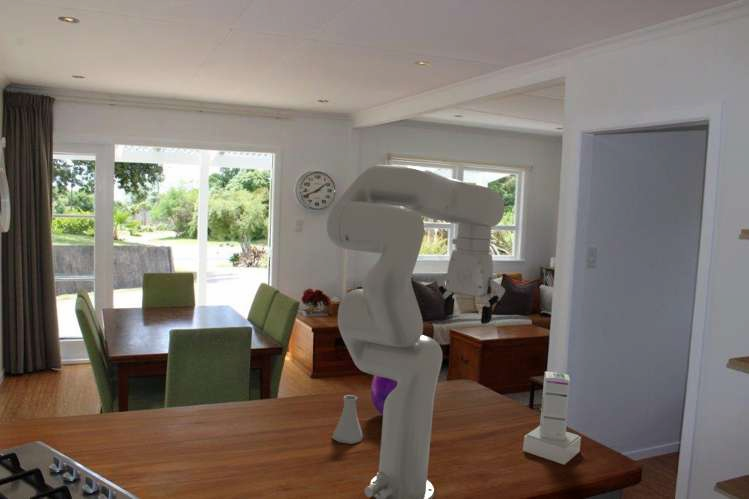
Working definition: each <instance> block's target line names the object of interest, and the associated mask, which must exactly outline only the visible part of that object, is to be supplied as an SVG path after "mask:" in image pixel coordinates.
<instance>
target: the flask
mask: <svg viewBox="0 0 749 499" xmlns="http://www.w3.org/2000/svg"><path fill="white" fill-rule="evenodd" d="M357 400H358V396H356V395H354V394H353V395H352V394H347V395H344V396H343V401H344V404H343V409H342V413H341V416H340V418H339V420H338V423H337V425H336V427H335V429H334V432H333V433H332V436H331V439H332V440H335V441H336V442H338V443H342V444H349V445H353V444H356V443H360V442H361V441H362V440H363V438H364V434H363V431H362V427H361V424H360V422H359V418H358V413H357Z"/></svg>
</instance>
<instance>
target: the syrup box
mask: <svg viewBox="0 0 749 499" xmlns="http://www.w3.org/2000/svg"><path fill="white" fill-rule="evenodd" d="M542 385H543V388H542V398H541V408H540V409H541V411H540V422H539V423H540V424H539V426H540V436H541V437H543V438H548V439H554V440H562V441H565V436H566V432H567V426H568V413H569V399H570V389H571V388H570V387H571V379H570V375H569V374H568V373H563V372H558V371H544V378H543V384H542Z"/></svg>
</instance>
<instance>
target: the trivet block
mask: <svg viewBox="0 0 749 499" xmlns="http://www.w3.org/2000/svg"><path fill="white" fill-rule="evenodd" d="M581 440H582V436H580V435H578V434H575V433H572V432H570V431H569V432H568V431H566V436H565V441H562V440H554V439H548V438H543V437H541V436H540V425H538V426H537V427H536V428H535V429H533V430H531V431H530V432H528V433H527V434H525V435H524V438H523V444H522V445H523V447H522V451H523V452H525V453H527V454H532V455H534V456H537V457H540V458H543V459H546V460H550V461H553V462H555V463H558V464H561V465H563V466H564V465H566V464H568V462H570V460H572V459H573V458H574V457H575V456H576V455H578V454H579V452H580V451H581Z"/></svg>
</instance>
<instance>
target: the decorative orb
mask: <svg viewBox="0 0 749 499" xmlns="http://www.w3.org/2000/svg"><path fill="white" fill-rule="evenodd" d="M397 384H398V383H397V382H396V381H394V380H391V379H388V378H384V377H380V376H376V375H373V378H372V380H371V385H370V397H371V400H372V404H373V405H374V407H375V409H376V410H377V411H378V413H380V414H381V415H382V416H383V409H384V403H385V400H386V398H387V396H388V395H389V394H390V393H391V392H392V391H393V390H394V389H395V388H396V386H397Z"/></svg>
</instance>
